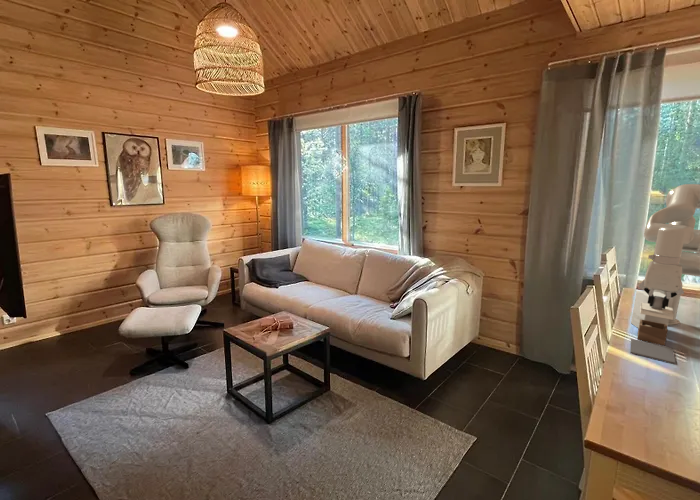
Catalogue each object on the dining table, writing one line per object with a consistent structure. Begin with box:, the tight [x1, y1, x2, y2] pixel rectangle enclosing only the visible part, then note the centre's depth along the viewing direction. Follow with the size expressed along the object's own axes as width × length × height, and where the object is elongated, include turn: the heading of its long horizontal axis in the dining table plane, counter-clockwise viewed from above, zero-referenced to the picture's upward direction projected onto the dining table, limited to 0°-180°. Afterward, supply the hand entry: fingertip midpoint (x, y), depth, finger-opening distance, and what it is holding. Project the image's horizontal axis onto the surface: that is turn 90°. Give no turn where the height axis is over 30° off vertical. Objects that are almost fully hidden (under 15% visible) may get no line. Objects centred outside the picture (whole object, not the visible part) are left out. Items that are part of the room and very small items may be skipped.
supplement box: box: [630, 290, 673, 329], centre depth 150 cm, size 9×9×15 cm
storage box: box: [637, 319, 668, 346], centre depth 139 cm, size 8×8×6 cm
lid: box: [640, 296, 674, 320], centre depth 138 cm, size 9×9×6 cm
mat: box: [629, 338, 676, 365], centre depth 130 cm, size 14×12×1 cm
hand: (657, 306), depth 138 cm, fingers closed on lid, 3 cm apart
